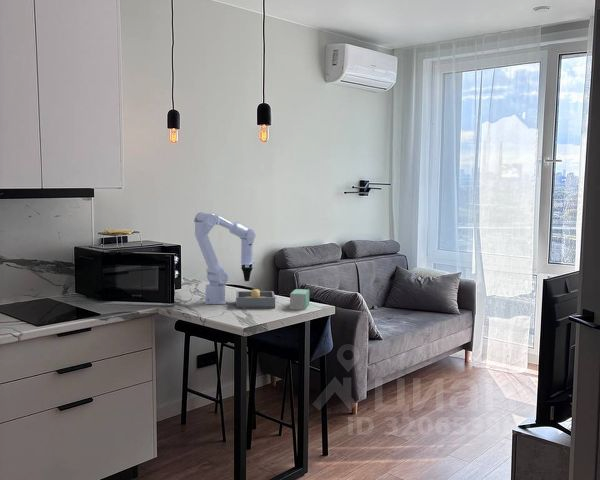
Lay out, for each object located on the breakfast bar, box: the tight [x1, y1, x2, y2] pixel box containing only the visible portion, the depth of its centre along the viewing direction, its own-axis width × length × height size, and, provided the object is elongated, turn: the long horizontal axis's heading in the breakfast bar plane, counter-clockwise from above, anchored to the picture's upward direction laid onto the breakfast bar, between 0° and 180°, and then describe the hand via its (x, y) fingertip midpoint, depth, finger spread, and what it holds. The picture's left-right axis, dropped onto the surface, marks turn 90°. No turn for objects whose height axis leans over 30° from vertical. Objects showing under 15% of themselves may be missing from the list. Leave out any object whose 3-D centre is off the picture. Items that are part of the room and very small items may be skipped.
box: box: [289, 288, 310, 311], centre depth 286 cm, size 7×14×8 cm, turn 171°
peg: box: [250, 288, 260, 297], centre depth 287 cm, size 4×4×6 cm
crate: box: [235, 290, 276, 309], centre depth 288 cm, size 18×16×5 cm
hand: (246, 279), depth 301 cm, fingers open, 7 cm apart
